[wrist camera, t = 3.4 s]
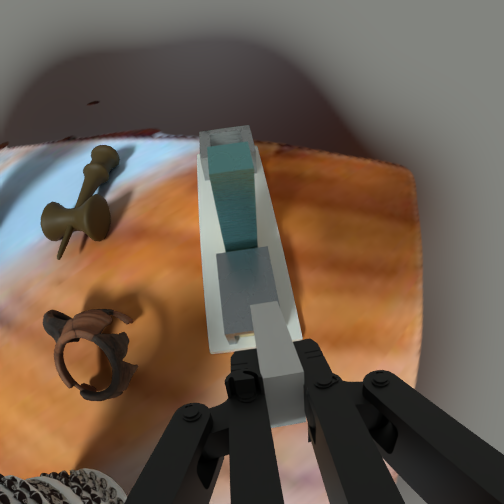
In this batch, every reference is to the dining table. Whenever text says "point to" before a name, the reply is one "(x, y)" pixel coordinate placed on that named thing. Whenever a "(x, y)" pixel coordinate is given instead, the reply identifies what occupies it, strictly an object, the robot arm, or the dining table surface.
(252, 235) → the two-tone teal block
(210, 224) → the base board
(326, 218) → the dining table surface
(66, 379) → the brown grey jagged ring
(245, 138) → the socket
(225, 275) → the sleeve
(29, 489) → the decorative candle
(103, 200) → the kendama
